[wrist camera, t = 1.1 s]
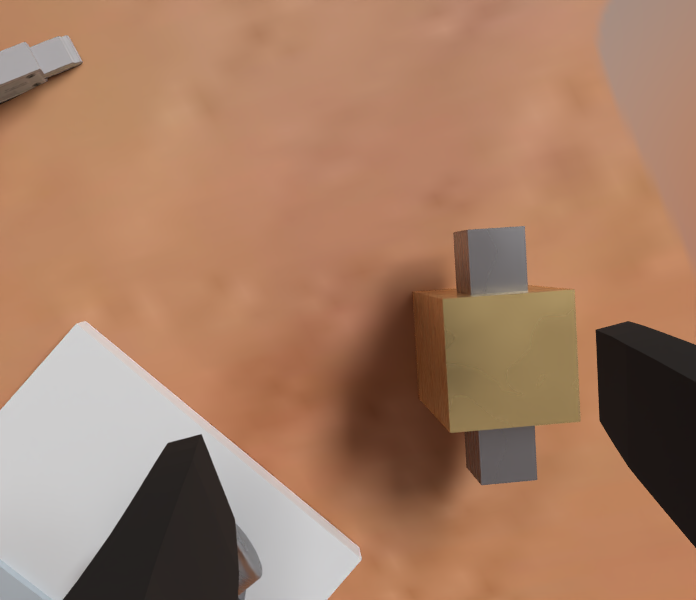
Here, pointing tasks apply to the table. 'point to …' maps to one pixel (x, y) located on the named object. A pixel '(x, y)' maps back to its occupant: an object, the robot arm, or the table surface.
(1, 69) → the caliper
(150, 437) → the bench
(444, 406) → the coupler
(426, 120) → the table surface
